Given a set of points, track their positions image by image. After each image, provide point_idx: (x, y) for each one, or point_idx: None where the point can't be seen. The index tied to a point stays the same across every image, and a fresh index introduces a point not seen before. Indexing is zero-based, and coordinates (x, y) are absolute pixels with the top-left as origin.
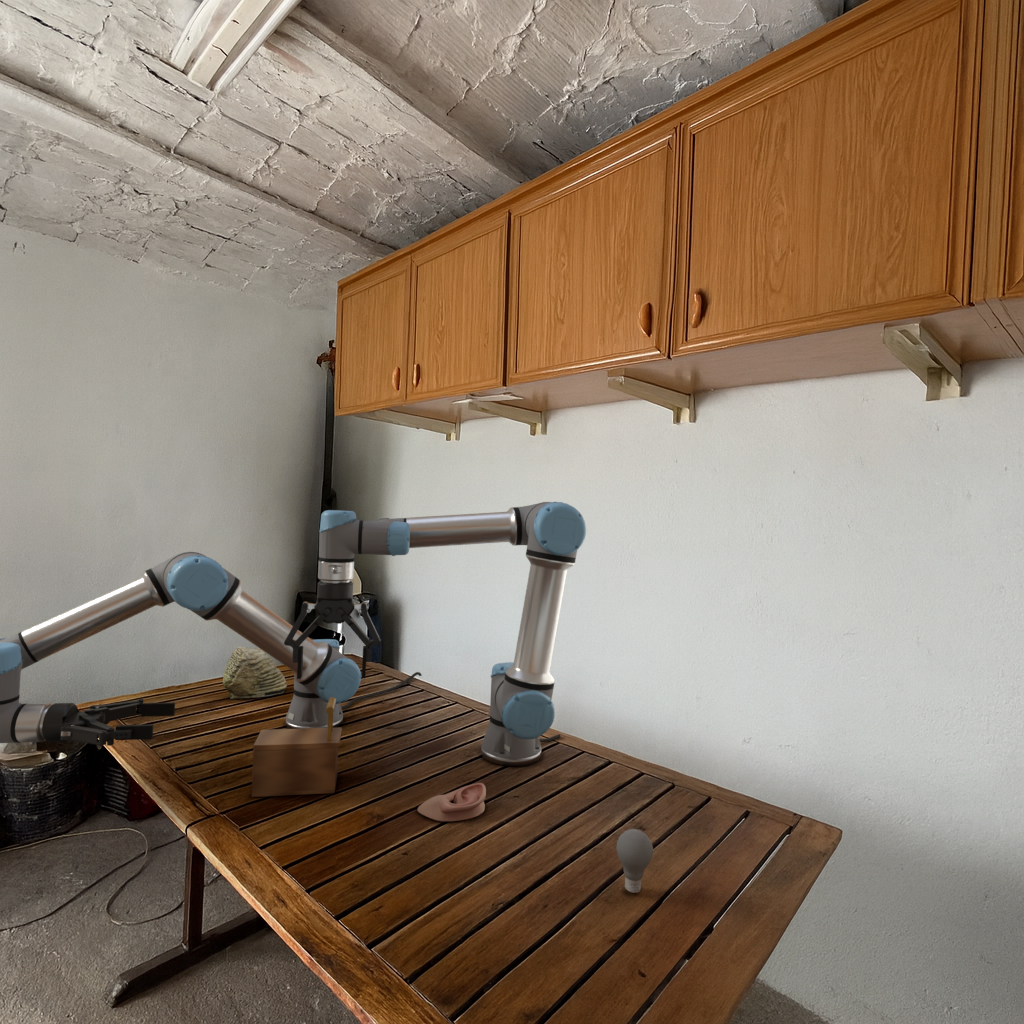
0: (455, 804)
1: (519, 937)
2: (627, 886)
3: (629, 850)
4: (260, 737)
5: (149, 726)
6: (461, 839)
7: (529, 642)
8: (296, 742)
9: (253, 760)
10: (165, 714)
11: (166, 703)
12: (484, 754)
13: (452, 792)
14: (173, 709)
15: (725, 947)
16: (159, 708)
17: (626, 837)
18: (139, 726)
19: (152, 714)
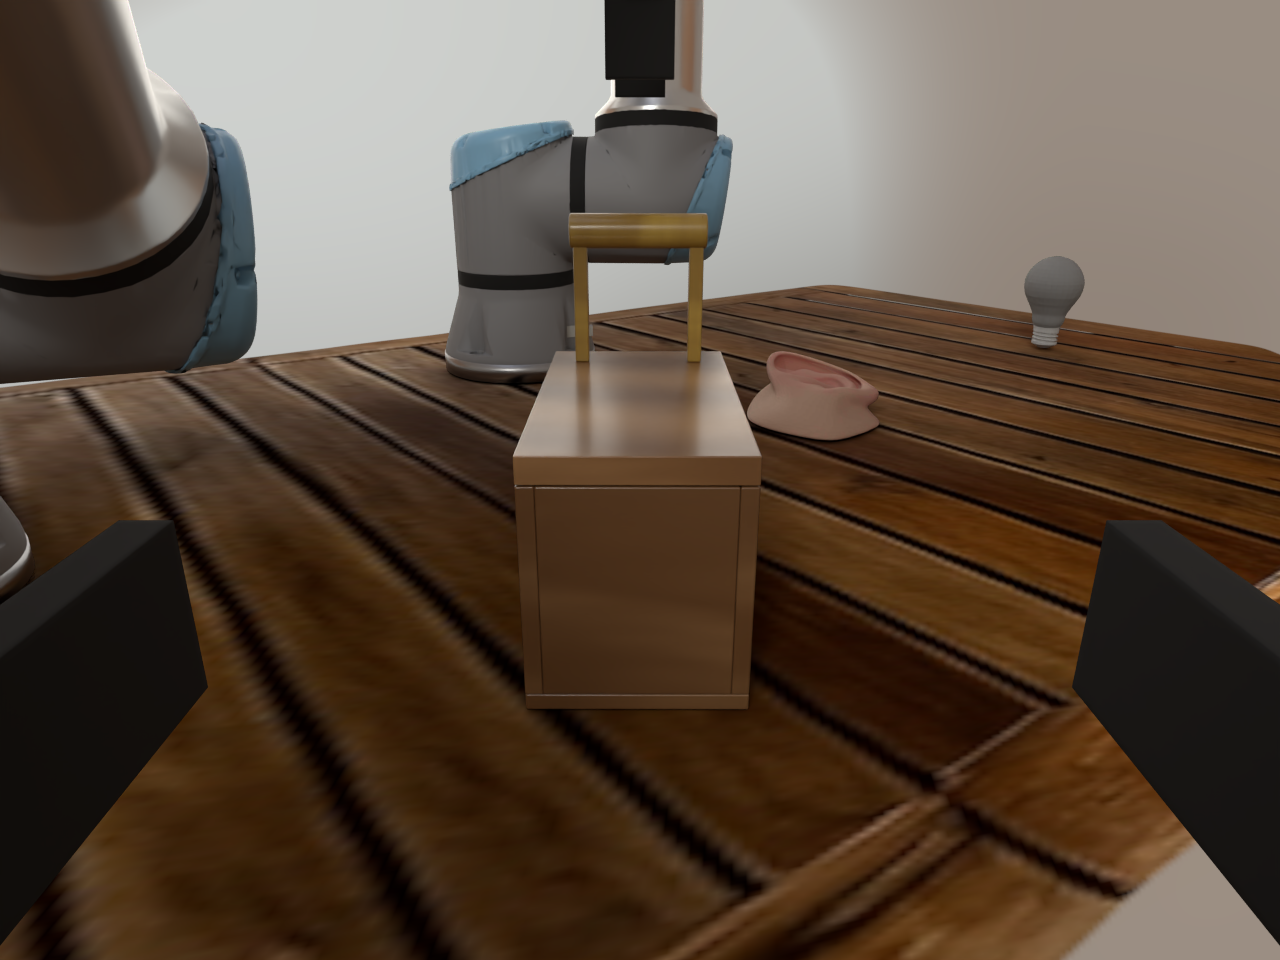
0: (851, 386)
1: (1232, 400)
2: (1052, 340)
3: (1082, 277)
4: (643, 450)
5: (1177, 543)
6: (945, 416)
7: (696, 13)
8: (719, 394)
9: (756, 536)
10: (146, 735)
11: (90, 572)
12: (535, 372)
13: (795, 383)
14: (190, 603)
15: (1130, 334)
16: (65, 704)
17: (1069, 264)
18: (1273, 604)
19: (5, 893)
